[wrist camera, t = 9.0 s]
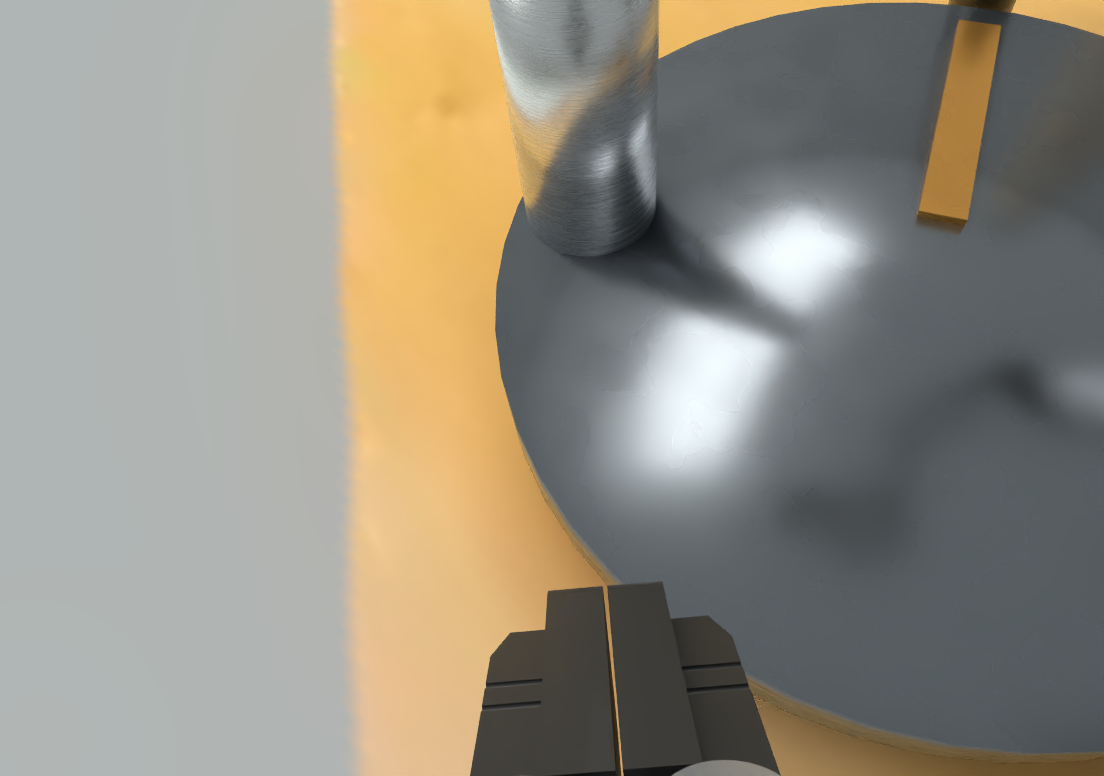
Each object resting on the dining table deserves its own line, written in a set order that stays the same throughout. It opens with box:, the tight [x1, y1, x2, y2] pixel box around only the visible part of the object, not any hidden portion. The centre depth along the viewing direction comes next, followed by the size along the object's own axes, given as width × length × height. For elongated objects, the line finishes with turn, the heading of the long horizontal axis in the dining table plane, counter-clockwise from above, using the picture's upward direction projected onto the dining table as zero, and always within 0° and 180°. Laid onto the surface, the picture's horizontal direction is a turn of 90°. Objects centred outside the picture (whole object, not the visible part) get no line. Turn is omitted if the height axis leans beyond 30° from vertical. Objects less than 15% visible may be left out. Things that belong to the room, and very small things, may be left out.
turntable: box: [489, 0, 1104, 763], centre depth 18 cm, size 22×22×10 cm
